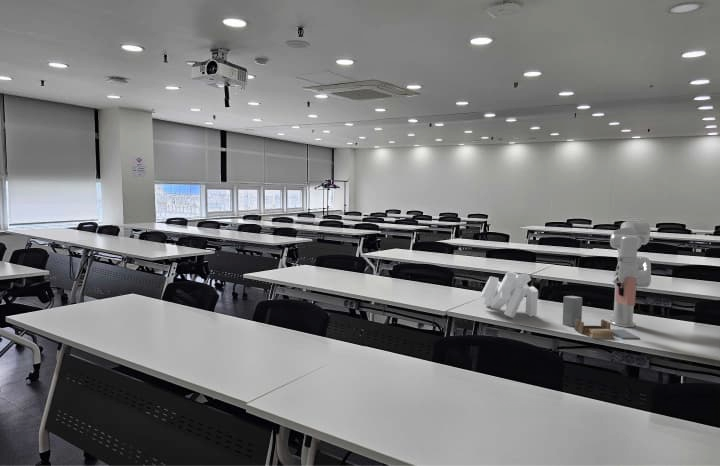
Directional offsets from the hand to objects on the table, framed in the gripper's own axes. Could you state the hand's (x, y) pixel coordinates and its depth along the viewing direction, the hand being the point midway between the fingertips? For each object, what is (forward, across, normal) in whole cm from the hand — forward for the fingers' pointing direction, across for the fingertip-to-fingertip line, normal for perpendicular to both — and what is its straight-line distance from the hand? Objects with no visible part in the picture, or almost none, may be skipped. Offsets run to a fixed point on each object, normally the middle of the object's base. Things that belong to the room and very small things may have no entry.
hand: (625, 295), depth 230 cm
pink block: (+4, 0, 0) cm, 4 cm away
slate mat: (+21, 0, 0) cm, 21 cm away
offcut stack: (+21, -14, -4) cm, 26 cm away
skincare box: (+21, -18, +18) cm, 33 cm away
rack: (+21, -14, +4) cm, 26 cm away
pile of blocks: (+21, -46, +41) cm, 65 cm away
